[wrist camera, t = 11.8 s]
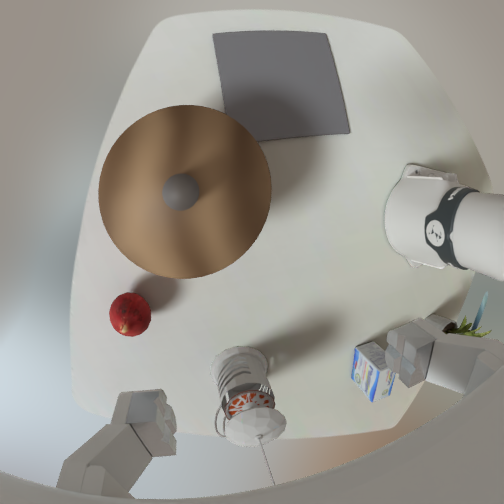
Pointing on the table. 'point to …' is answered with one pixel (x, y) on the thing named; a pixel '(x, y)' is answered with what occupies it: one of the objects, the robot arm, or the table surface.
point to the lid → (185, 191)
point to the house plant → (453, 326)
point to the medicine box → (372, 371)
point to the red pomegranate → (130, 314)
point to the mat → (280, 83)
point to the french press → (246, 398)
